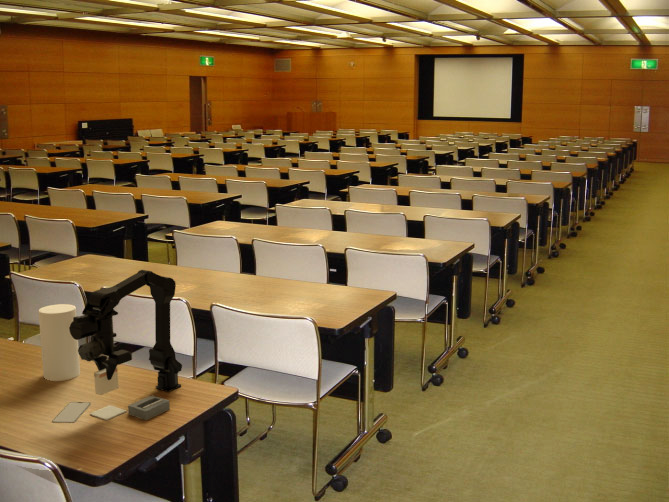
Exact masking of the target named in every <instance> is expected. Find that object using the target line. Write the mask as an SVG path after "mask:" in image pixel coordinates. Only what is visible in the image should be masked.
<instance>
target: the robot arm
mask: <svg viewBox="0 0 669 502" xmlns="http://www.w3.org/2000/svg"><path fill="white" fill-rule="evenodd" d="M176 284H177V283H176V280H174V279H173V278H172V277H170V276H169V277H168V276H162V275H159V274H158V273H157V274H156V273H155V272H153V271H152V270H145V269H140V270H138V271H137V272H136V273H134V274H132V275H131V276H129V277H128V278H125V279H124V280H122V281H120V282H118V283H117V284H114V285H113V286H111V287H105V288H100V289H97V290H94V291H93V292H91V293H89V298H88V300H87V302H86V303H85V306H84V308H83V310H82V312H81V315H79V316H77V315H76V317H74V318H73V322H72V323H71V324H70V327H69V330H70V334H71V336H72V337H73V338H74V339H75V340H78V341H79V340H81V339H82V340H83V339H85V338H89V337H90V340H89V342H86V343H83V344H80V345H79V346H78V347H79V348H78V353H79V358H80V360H81V361H82V360H84V361H85V362H86V361H87V362H94V364H95V365H96V368H97V370H98V371H100V370H102V369H105V368H106V374H107V379H108V380H110V379H111V378H112V376H113V374H114V371H115V369H116V367H117V368H118V366H119V365H122V364H125V363H127V362H130V361H132V360H133V353H132V352H131V351H128V350H126V349H120V350H118V346H117V345H115V340H114V339H115V338H116V337H117V333H116V332H114V324H113V323H114V322H113V320H114V319H113V317H115V316H118V315H119V312H118V311H116V310H115V308H116V307H117V306H118V305H119V304H120V302H121V300H122V299H124V298H125V297H127V296H129V295H130V294H132V293H134V292H135V291H138V290H139V289H141V288H142V287H144V286H147V287H149V291H150V296H151V297H152V299H153V301H154V305H155V306H154V307H155V308H154V311H155V312H154V316H155V317H154V319H155V322H154V323H155V325H154V326H155V331H154V332H155V343H154V345H153V347H151V348H149V350H148V353H149V358H148V361H149V362H150V364H151V366H152V367H153V369H154V371H157V385H156V386H155V389H157V390H158V389H159V390H160V391H165V392H171V391H174V390H176V389H178V388H180V387H182V384H181V383H179V376H178V374H179V373H180V372H181V371H182V368H183V364H182V363H181V362H180V361H178V359H177V357H176V353H175V352H176V351H175V349H174V347H173V345H172V343H171V302H172V300H173V299H174V297H175V295H176ZM116 350H117V351H116Z"/></svg>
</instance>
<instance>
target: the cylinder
mask: <svg viewBox="0 0 669 502" xmlns="http://www.w3.org/2000/svg"><path fill="white" fill-rule="evenodd" d="M74 317H77V308H76V306H75V305H74V304H67V303H58V304H51V305H46V306H42V307H41V308H39V309H38V322H39V333H40V336H39V337H40V346H41V347H40V348H41V360H42V373H43V379H44V378H45V379H44V380H46V379H47V380H46V381H49V380H50V382H62V381H69V380H73V379H75V378H77V377H78V376H79V375H80V374H81V364H80V362H81V361H80V355H79V353H78V348H79V347H80V346H79V340H75V339H74V338H73V337H72V336H71V334H70V330H69V327H70V324H71V323H72V322H73V318H74Z"/></svg>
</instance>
